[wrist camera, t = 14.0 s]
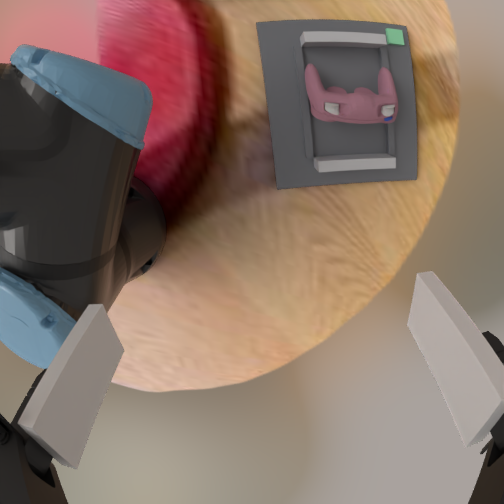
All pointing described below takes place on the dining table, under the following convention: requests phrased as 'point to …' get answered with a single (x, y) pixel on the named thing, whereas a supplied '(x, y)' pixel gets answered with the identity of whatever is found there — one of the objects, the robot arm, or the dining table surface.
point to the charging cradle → (349, 78)
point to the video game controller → (352, 100)
